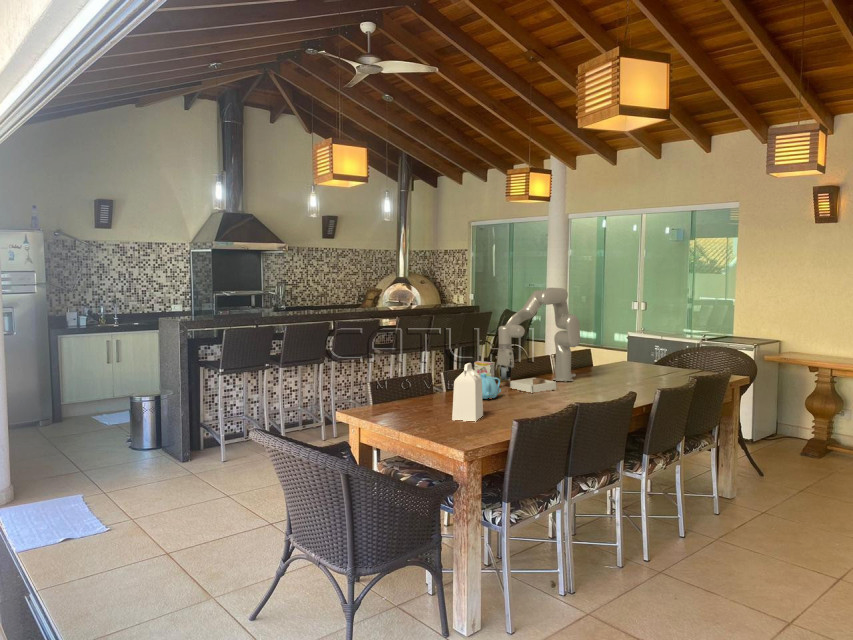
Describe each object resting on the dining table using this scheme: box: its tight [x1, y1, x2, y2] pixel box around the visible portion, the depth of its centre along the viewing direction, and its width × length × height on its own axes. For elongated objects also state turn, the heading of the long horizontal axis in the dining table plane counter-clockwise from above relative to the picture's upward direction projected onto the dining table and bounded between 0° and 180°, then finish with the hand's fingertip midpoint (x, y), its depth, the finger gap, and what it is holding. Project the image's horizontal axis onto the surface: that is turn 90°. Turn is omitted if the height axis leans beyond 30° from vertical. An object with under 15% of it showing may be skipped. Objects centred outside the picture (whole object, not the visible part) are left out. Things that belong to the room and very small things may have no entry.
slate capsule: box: [500, 366, 511, 381], centre depth 385 cm, size 5×5×7 cm
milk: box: [451, 362, 484, 423], centre depth 304 cm, size 12×12×26 cm
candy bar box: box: [473, 360, 496, 378], centre depth 376 cm, size 11×5×16 cm, turn 58°
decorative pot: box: [480, 373, 502, 400], centre depth 352 cm, size 16×16×14 cm
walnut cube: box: [533, 377, 546, 385], centre depth 379 cm, size 5×5×5 cm
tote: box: [509, 377, 558, 393], centre depth 376 cm, size 20×18×5 cm
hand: (505, 376), depth 386 cm, fingers closed on slate capsule, 4 cm apart
